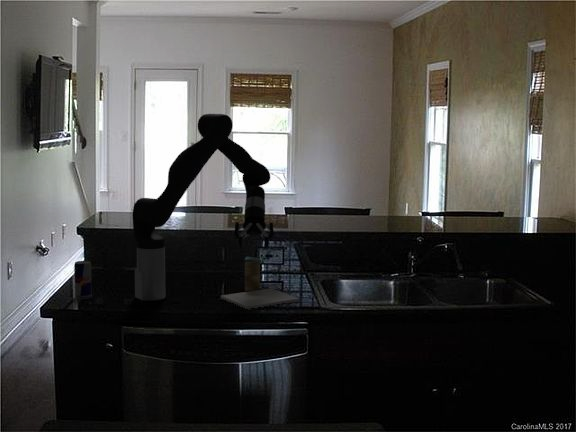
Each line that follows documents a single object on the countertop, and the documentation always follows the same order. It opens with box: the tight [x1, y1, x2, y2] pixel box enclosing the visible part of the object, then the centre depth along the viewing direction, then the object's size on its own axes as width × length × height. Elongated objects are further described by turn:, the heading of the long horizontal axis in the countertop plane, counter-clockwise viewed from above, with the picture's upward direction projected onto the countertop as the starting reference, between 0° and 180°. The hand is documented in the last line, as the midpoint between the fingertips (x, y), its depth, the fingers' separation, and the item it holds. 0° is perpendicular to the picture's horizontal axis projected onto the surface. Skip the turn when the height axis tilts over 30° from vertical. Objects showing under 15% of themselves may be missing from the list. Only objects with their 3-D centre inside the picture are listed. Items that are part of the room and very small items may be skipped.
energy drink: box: [73, 260, 93, 300], centre depth 267 cm, size 5×5×12 cm
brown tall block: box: [244, 256, 261, 292], centre depth 281 cm, size 5×5×11 cm
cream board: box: [220, 287, 300, 310], centre depth 267 cm, size 20×17×1 cm
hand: (253, 247), depth 289 cm, fingers open, 8 cm apart
